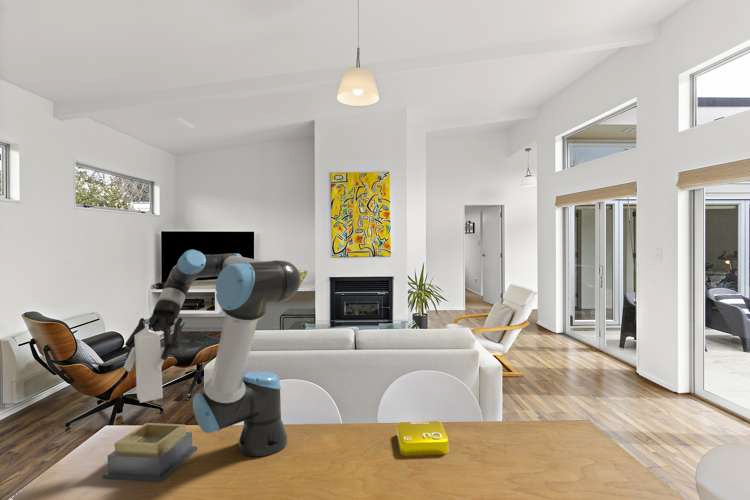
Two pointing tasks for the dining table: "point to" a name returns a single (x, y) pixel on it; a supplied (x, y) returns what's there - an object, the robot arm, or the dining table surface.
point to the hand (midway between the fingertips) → (141, 369)
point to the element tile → (422, 438)
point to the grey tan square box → (150, 452)
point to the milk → (147, 365)
